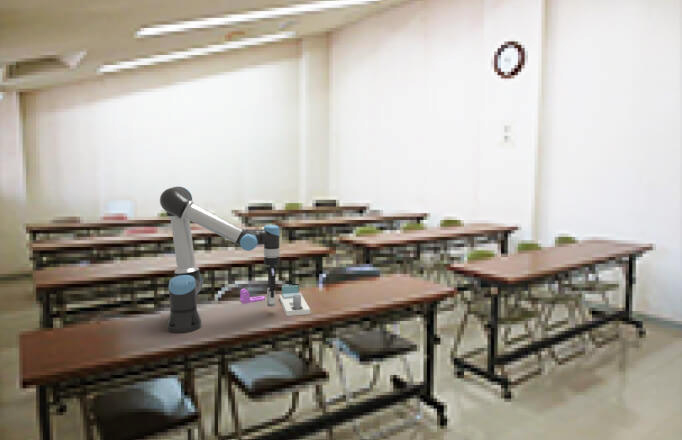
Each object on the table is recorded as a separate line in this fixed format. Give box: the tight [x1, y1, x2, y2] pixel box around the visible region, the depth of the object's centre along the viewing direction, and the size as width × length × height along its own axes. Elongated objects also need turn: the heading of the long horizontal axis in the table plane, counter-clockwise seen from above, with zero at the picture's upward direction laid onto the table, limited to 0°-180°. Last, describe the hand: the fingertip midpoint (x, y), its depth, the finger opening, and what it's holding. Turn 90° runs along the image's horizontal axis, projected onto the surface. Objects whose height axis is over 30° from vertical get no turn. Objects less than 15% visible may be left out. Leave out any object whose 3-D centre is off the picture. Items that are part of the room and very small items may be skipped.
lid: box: [281, 284, 300, 299], centre depth 258 cm, size 9×7×5 cm
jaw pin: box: [266, 287, 276, 308], centre depth 235 cm, size 4×4×9 cm
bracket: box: [239, 288, 266, 305], centre depth 259 cm, size 13×6×7 cm, turn 116°
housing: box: [278, 292, 311, 317], centre depth 249 cm, size 12×30×9 cm, turn 14°
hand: (271, 302), depth 236 cm, fingers closed on jaw pin, 4 cm apart
